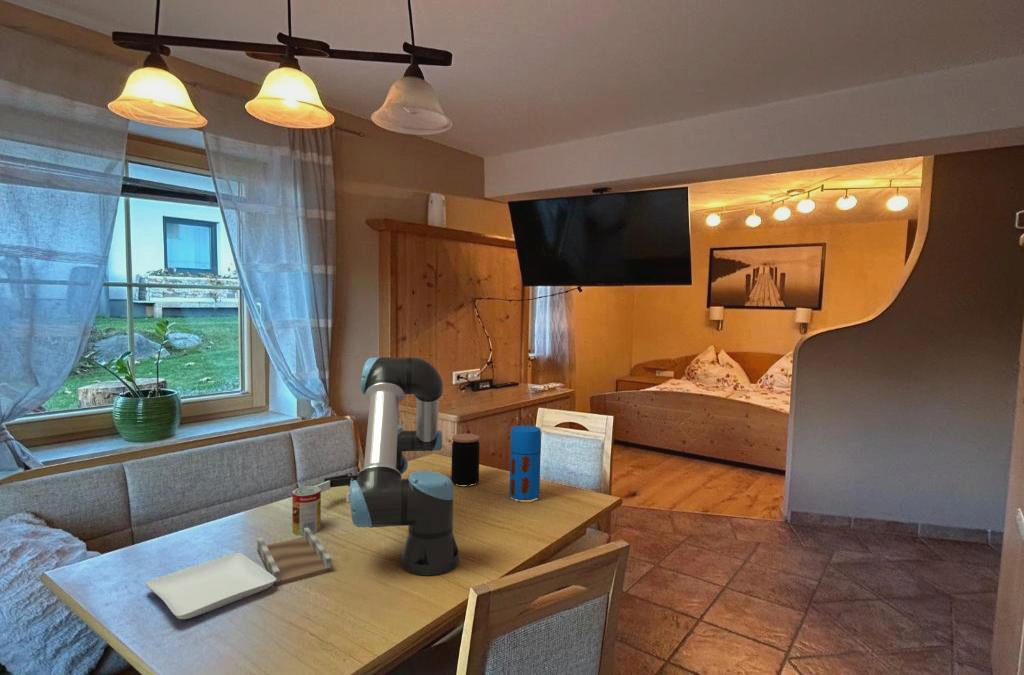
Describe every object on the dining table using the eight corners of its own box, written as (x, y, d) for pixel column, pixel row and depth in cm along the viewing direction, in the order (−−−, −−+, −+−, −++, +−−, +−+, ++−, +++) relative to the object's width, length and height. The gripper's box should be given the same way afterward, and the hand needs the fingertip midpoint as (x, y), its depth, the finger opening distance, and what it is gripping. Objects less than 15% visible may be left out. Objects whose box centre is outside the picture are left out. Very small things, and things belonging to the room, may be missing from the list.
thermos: (539, 503, 183) (541, 432, 182) (509, 502, 183) (510, 431, 182) (538, 492, 194) (540, 425, 193) (509, 491, 194) (511, 425, 193)
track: (331, 571, 133) (331, 557, 133) (274, 586, 125) (274, 572, 125) (308, 539, 151) (308, 527, 151) (257, 550, 143) (257, 538, 143)
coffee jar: (480, 479, 208) (481, 434, 207) (476, 488, 197) (477, 440, 196) (454, 477, 209) (455, 433, 208) (448, 486, 198) (449, 439, 197)
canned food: (315, 522, 163) (315, 484, 162) (324, 530, 157) (324, 491, 156) (288, 528, 158) (289, 489, 157) (297, 537, 152) (297, 497, 151)
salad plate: (238, 562, 137) (238, 549, 137) (278, 591, 124) (278, 577, 124) (143, 595, 121) (143, 581, 121) (177, 633, 107) (177, 617, 107)
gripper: (403, 491, 180) (361, 513, 161) (346, 480, 191) (301, 499, 171) (403, 470, 180) (361, 489, 161) (347, 459, 190) (301, 476, 171)
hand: (330, 494), depth 166 cm, fingers open, 13 cm apart
